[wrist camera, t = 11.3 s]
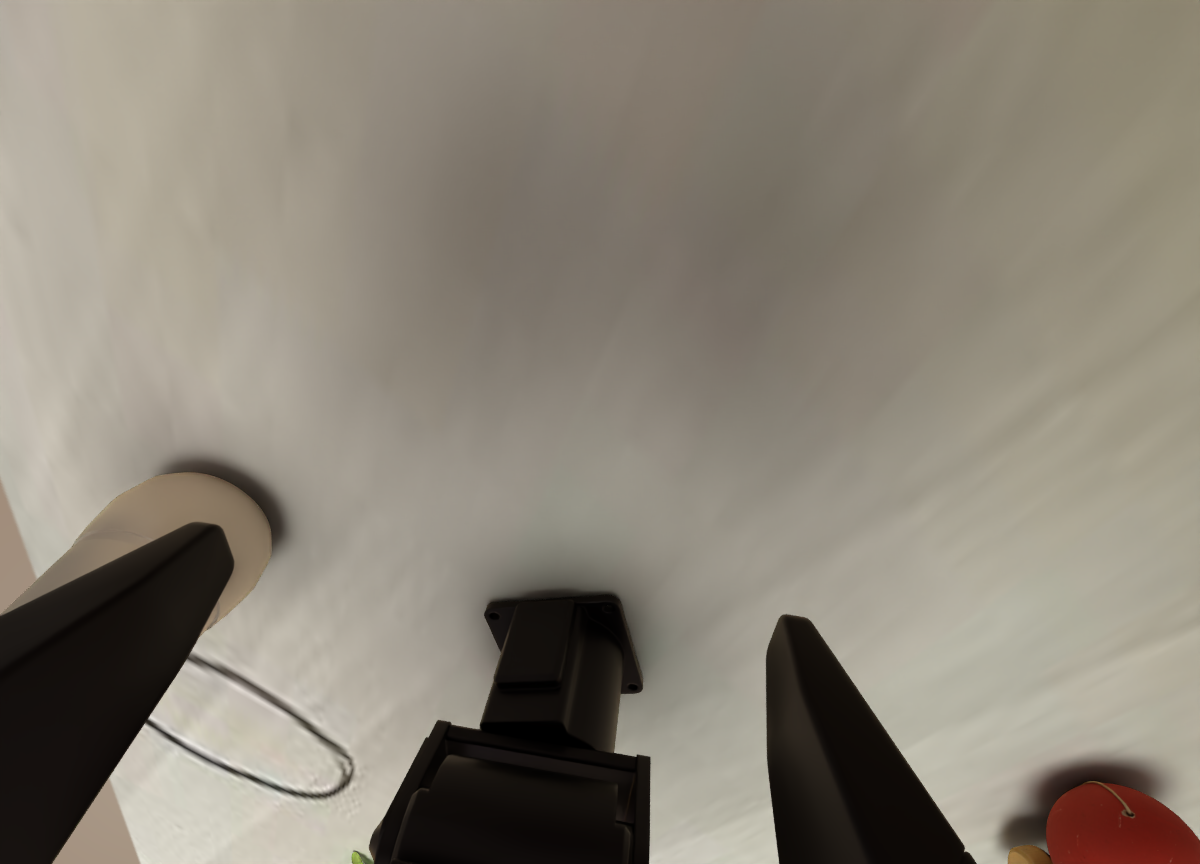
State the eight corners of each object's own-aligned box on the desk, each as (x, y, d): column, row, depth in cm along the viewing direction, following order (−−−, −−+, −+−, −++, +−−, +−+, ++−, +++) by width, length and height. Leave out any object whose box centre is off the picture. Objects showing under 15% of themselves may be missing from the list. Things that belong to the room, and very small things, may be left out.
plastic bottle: (319, 548, 29) (-208, 1260, 12) (211, 573, 31) (-372, 1215, 14) (232, 436, 26) (-634, 1174, 9) (119, 472, 28) (-767, 1132, 11)
